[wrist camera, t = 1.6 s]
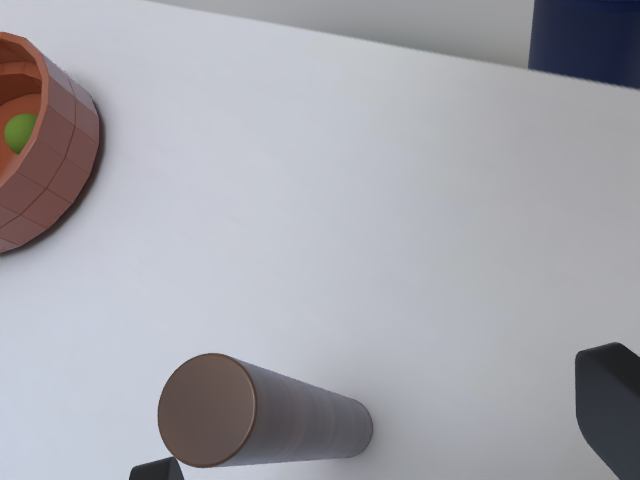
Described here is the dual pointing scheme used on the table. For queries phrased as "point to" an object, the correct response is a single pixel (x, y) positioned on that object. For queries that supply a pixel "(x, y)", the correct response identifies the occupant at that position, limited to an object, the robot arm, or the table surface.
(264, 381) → the stick
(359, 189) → the table surface
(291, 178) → the table surface
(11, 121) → the ball
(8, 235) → the bowl
